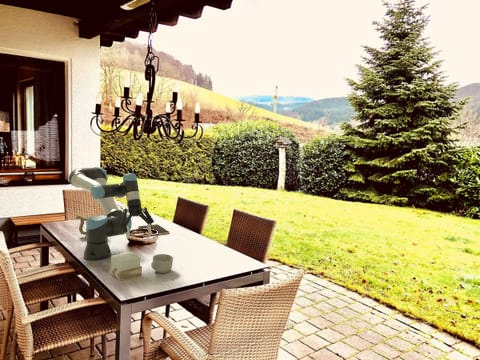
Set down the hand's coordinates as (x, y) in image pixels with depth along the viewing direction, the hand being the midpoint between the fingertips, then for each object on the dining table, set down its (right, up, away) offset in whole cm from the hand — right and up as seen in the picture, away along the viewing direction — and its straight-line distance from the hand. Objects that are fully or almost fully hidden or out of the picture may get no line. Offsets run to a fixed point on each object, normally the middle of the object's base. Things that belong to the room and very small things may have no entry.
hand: (139, 236), depth 215 cm
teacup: (+13, -18, -7) cm, 23 cm away
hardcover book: (-9, -7, +73) cm, 74 cm away
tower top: (-4, -13, -13) cm, 19 cm away
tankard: (-47, -8, +51) cm, 70 cm away
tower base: (-4, -18, -12) cm, 22 cm away
